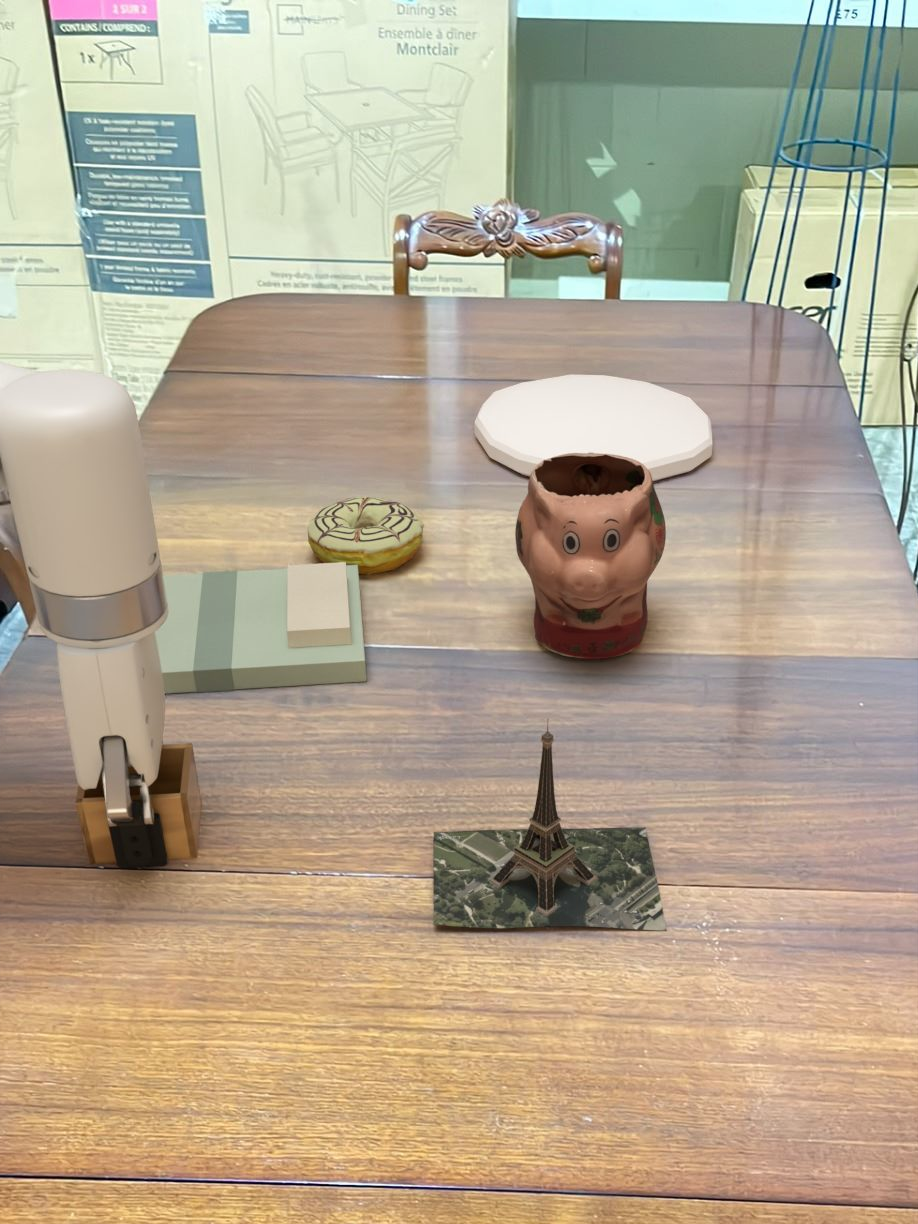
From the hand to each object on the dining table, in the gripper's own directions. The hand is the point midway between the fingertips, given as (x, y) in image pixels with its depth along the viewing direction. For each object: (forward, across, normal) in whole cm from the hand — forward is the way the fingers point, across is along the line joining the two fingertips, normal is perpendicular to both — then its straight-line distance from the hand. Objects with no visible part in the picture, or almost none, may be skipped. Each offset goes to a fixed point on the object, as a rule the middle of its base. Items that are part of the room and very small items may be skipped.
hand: (146, 830), depth 92 cm
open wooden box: (+1, 0, 0) cm, 1 cm away
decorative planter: (+2, -27, +35) cm, 44 cm away
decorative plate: (+2, -65, +42) cm, 77 cm away
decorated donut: (+2, -42, +17) cm, 45 cm away
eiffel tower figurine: (+2, +6, +26) cm, 27 cm away
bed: (+2, -28, +5) cm, 28 cm away
